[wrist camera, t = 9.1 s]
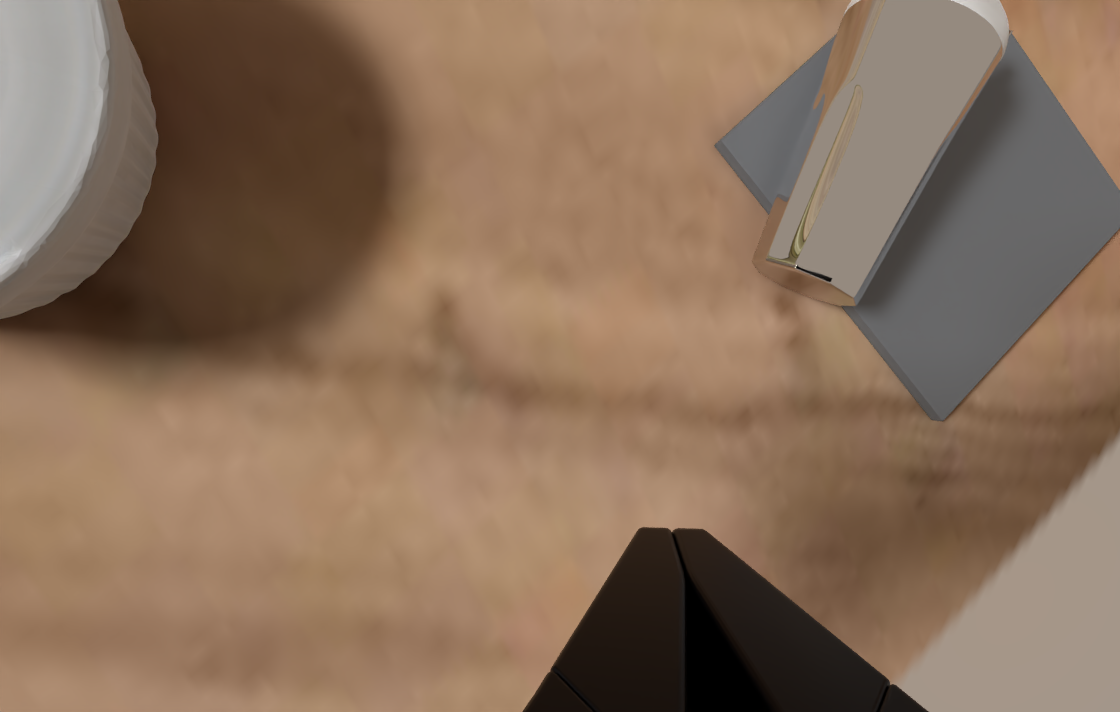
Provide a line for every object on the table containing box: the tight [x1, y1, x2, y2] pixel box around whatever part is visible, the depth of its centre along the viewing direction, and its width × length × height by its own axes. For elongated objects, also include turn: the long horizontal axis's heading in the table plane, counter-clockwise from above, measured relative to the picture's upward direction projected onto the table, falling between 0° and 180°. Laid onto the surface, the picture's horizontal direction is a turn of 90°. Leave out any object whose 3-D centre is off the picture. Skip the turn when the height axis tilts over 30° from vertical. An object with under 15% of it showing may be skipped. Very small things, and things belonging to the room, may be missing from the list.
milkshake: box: [752, 0, 1013, 306], centre depth 20 cm, size 4×5×10 cm
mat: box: [714, 30, 1120, 421], centre depth 23 cm, size 11×12×1 cm
